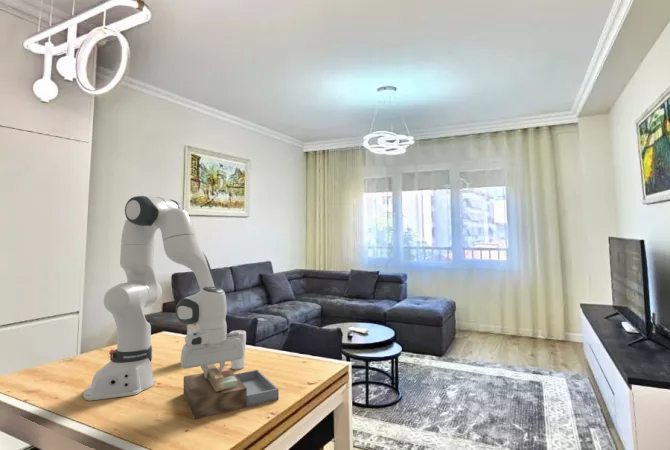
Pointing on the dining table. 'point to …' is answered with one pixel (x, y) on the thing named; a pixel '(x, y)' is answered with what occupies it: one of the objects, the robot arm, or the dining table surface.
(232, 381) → the sage tile
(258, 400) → the box
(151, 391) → the dining table surface
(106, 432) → the dining table surface
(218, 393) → the walnut platform
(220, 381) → the bar
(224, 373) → the terracotta tile
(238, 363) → the drinking glass
